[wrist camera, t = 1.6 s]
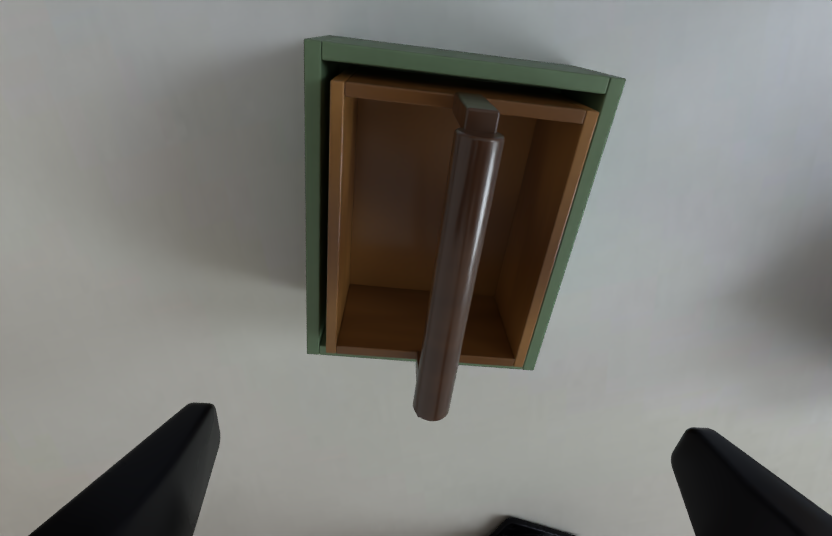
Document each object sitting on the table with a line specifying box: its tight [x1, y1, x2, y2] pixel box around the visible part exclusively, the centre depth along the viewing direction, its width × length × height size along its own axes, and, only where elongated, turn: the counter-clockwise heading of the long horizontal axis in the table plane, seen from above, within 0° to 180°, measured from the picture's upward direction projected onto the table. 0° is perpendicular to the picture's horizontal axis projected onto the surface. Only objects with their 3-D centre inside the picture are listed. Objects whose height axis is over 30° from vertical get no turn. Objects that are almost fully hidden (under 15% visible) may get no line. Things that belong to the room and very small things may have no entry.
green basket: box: [304, 35, 626, 370], centre depth 18 cm, size 12×10×4 cm
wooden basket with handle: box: [326, 65, 599, 421], centre depth 16 cm, size 10×8×8 cm
